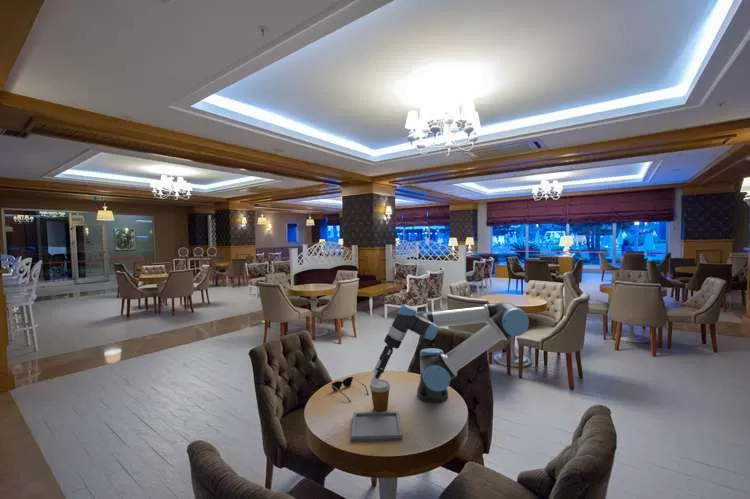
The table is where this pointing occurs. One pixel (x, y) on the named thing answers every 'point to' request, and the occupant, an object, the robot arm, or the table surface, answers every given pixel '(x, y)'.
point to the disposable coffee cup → (380, 395)
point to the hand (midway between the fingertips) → (374, 378)
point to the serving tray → (376, 426)
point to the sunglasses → (346, 383)
